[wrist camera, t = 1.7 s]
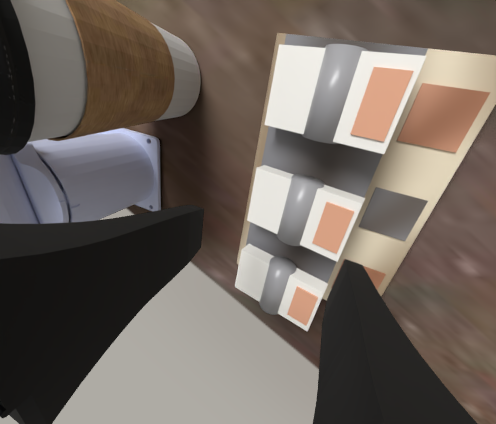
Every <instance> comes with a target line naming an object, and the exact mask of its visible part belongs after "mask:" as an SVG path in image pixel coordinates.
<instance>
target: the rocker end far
mask: <svg viewBox="0 0 496 424" xmlns="http://www.w3.org/2000/svg"><path fill="white" fill-rule="evenodd" d="M327 286H328V283H326V282H324V281H322V280H320V279H318V278H316V277H314V276H312V275H310V274H308V273H306V272H304V271H302V270H300V269H298V268H296V265H295V263H294V262H293V261H292V260H290V259H289V258H287V257H283V256H275V257H274V256H273V255H271V254H269V253H267V252H265V251H263V250H261V249H259V248H257V247H255V246H253V245H251V244H248V245H247V246H245V247H244V248H243V249H242V250H241V256H240V261H239V266H238V272H237V277H236V283H235V287H236V288H238V289H239V290H241V291H242V292H244V293H246V294H247V295H249V296H251V297H252V298H254V299H255V300H257V301H259V304H260V307H261V308H262V310H263V311H265V312H266V313H268V314H272V315H276V314H280V315H281V316H283V317H285V318H286V319H288V320H289V321H291V322H293V323H294V324H296V325H297V326H299V327H301V328H302V329H304V330H306V331H308V329H309V327H310V325H311V323H312V320H313V318H314V316H315V313H316V311H317V309H318V307H319V304H320V302H321V300H322V297H323V295H324V293H325V290H326V288H327Z"/></svg>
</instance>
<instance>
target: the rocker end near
mask: <svg viewBox="0 0 496 424" xmlns="http://www.w3.org/2000/svg"><path fill="white" fill-rule="evenodd" d="M425 59H426V56H422V55H409V54H396V53H383V52H370V51H368V50H367V49H365V48H362V47H358V46H354V45H347V44H329V45H326V47H325V48H319V47H306V46H293V45H281V44H279V48H278V53H277V59H276V64H275V70H274V75H273V81H272V86H271V92H270V97H269V103H268V108H267V113H266V119H265V124H264V125H267V126H271V127H275V128H279V129H283V130H287V131H291V132H295V133H300V134H303V135H302V136H303V137H305V138H307V139H310V140H314V141H318V142H323V143H329V144H338V143H340V144H344V145H348V146H352V147H356V148H360V149H364V150H369V151H373V152H377V153H381V154H385V152H386V149H387V147H388V145H389V143H390V140H391V138H392V136H393V133H394V131H395V129H396V126H397V124H398V122H399V119H400V117H401V115H402V113H403V110H404V108H405V106H406V103H407V101H408V99H409V96H410V94H411V92H412V89H413V87H414V85H415V82H416V80H417V78H418V76H419V73H420V71H421V69H422V66H423V64H424V62H425Z"/></svg>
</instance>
